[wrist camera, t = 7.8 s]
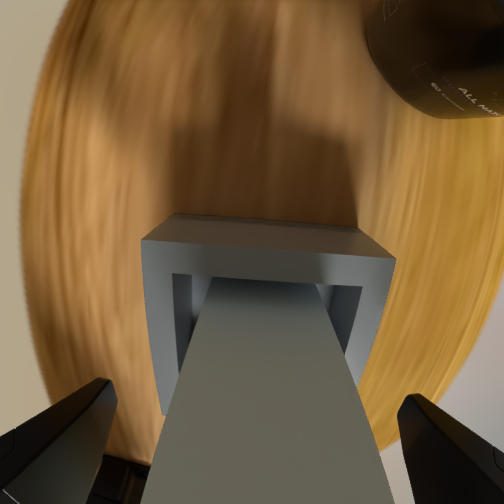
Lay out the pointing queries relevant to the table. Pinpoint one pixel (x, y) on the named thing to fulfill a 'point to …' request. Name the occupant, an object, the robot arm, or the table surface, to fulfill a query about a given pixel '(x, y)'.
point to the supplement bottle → (442, 54)
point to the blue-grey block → (265, 407)
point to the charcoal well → (259, 268)
